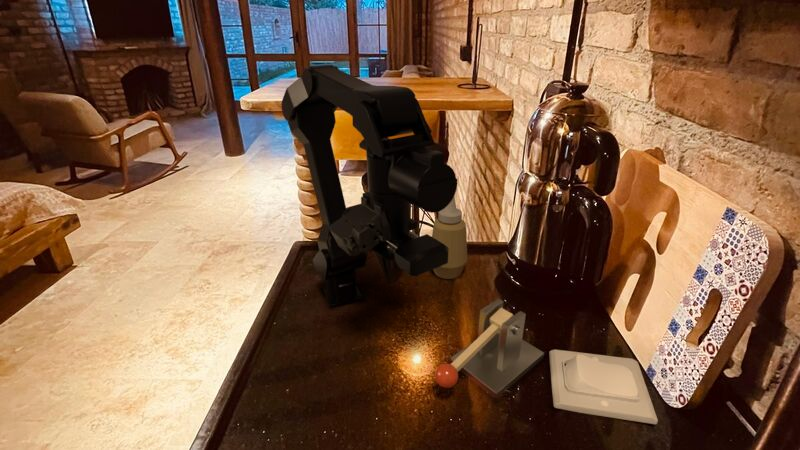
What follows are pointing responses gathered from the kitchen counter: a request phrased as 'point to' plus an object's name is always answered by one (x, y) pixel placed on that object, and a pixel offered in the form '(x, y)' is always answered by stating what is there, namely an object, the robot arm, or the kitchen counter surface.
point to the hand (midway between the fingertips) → (392, 283)
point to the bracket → (500, 354)
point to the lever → (470, 351)
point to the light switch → (600, 386)
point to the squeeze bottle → (451, 240)
